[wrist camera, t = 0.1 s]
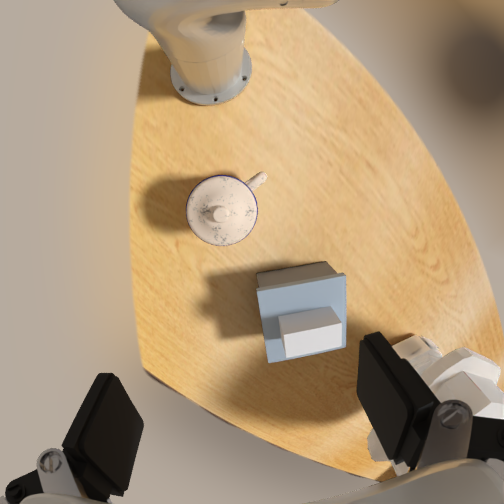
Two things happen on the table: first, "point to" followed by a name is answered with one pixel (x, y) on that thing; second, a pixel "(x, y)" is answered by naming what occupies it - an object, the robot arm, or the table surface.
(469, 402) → the white tiered tall piece
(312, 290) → the lid
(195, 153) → the table surface
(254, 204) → the teacup with lid
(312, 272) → the storage box
